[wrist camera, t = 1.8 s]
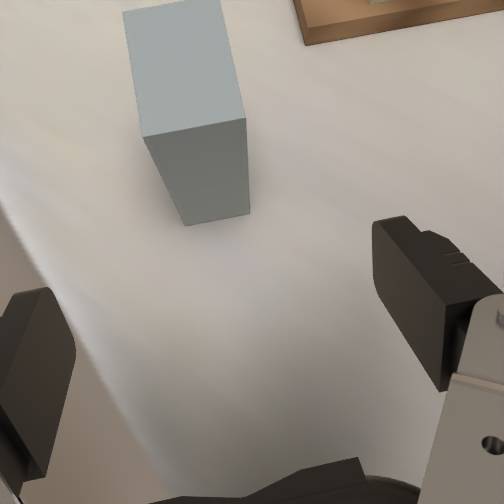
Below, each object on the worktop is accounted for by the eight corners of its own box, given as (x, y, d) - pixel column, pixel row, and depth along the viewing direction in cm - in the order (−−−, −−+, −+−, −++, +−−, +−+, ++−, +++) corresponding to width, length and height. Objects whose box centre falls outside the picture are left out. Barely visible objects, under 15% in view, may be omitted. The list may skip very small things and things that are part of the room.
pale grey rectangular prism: (232, 130, 27) (218, -6, 17) (250, 213, 26) (245, 117, 16) (170, 142, 27) (122, 12, 17) (185, 226, 26) (142, 137, 16)
